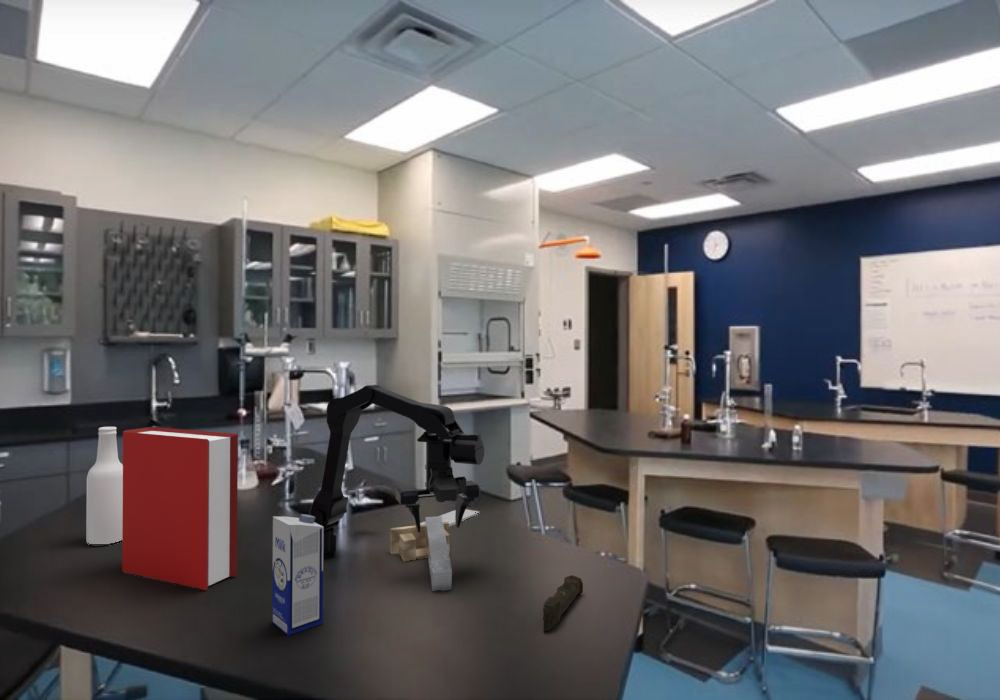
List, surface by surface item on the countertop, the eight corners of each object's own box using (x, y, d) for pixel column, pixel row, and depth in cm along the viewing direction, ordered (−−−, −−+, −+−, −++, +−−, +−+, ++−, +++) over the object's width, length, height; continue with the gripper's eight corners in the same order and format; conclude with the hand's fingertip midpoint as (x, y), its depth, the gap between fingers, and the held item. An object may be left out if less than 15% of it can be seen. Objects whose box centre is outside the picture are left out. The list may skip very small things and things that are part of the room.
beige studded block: (396, 562, 137) (396, 537, 137) (390, 552, 144) (390, 528, 144) (456, 554, 142) (456, 530, 142) (447, 544, 149) (447, 521, 149)
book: (236, 577, 127) (237, 433, 127) (206, 591, 120) (207, 439, 120) (150, 559, 138) (151, 426, 137) (118, 571, 130) (118, 431, 130)
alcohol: (134, 536, 154) (135, 425, 154) (109, 548, 145) (110, 430, 145) (104, 535, 155) (105, 424, 155) (77, 546, 146) (78, 429, 146)
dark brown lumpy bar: (565, 591, 122) (565, 570, 122) (583, 595, 120) (583, 573, 120) (530, 631, 105) (530, 605, 105) (550, 636, 103) (550, 610, 103)
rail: (432, 591, 121) (432, 572, 120) (425, 533, 142) (425, 517, 140) (451, 589, 122) (451, 571, 120) (441, 532, 142) (441, 516, 141)
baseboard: (386, 536, 157) (413, 544, 152) (386, 526, 157) (413, 533, 152) (454, 511, 182) (479, 516, 177) (454, 502, 182) (479, 507, 177)
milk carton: (271, 622, 107) (272, 515, 107) (306, 610, 111) (306, 508, 111) (288, 636, 102) (289, 523, 101) (323, 623, 106) (324, 516, 106)
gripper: (406, 471, 120) (406, 546, 120) (489, 465, 127) (488, 535, 127) (395, 462, 130) (395, 530, 130) (472, 456, 137) (472, 521, 137)
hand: (438, 529), depth 131 cm, fingers open, 9 cm apart
